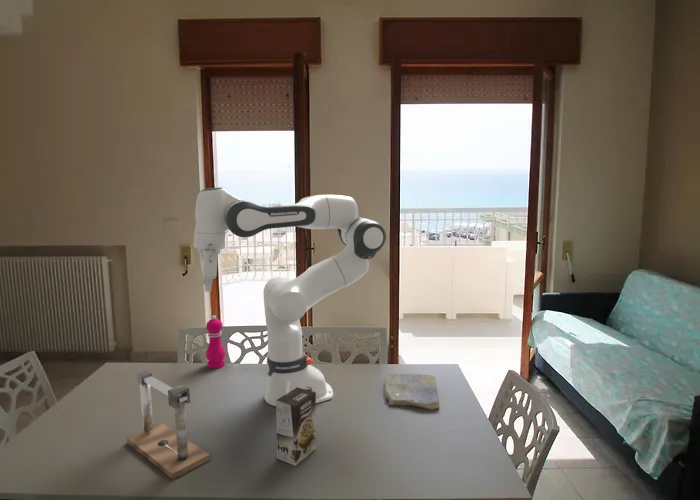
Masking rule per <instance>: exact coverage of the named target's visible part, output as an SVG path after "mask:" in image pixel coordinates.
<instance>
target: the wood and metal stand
mask: <svg viewBox="0 0 700 500" xmlns="http://www.w3.org/2000/svg"><path fill="white" fill-rule="evenodd" d="M172 388H173V389H170V390H168V396H167V398H168V406H170V407H172V408H173V409H174V419H175V430H174V429H172V428H170V427H169V426H167V425H166V424H165V423H163V422H161V423H159V424H157V425H153V430H151V431H150V432H144V431H143V430H142V431H140V432H137V433H135V434H133V435H131V436H127V438H126V441H127V444H128V445H129V446H131V447H132V448H133V449H134V450H136V451H137V452H138V453H139V454H140V455H141V456H143V457H144V458H145V459H147V460H148V461H149V462H151V463H152V464H153V465H154V466H155V467H157V468H158V469H159V470H160V471H161V472H162V473H164V474H165V475H167V476H168V477H169V478H170V479H171V480H175V479H177V478H178V477H181V476H183V475H184V474H186V473H188V472H190V471H192V470H193V469H195V468H197V467H199V466H201V465H203V464H205V463H207V462H209V461H210V460H211V459H210V454H209V453H208V452H206V451H205V450H204V449H202V448H200V446H198V445H196V444H194V443H193V442H192V441H190V440H189V439H188V436H187V432H188V431H187V420H186V418H187V417H186V404H190V403H191V393H190V391H191V390H190V388H189V387H188V386H186V385H184V384H181V385H179V386H177V387H172ZM182 393H183V394H184V395H186V396H187V400H186V401H183V402H181V403H179V402H177V395H179V394H182Z"/></svg>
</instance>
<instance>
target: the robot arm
mask: <svg viewBox="0 0 700 500" xmlns="http://www.w3.org/2000/svg"><path fill="white" fill-rule="evenodd" d="M195 201H196V202H195V213H194V214H195V215H194V218H195V227H194V230H193V231H194V234H193V247H194V248H195V249H197V253H198V254H199V262H200V270H201V275H202V278H203V282H202V283H203V285H204V291H205V293H210V292H212V286H213V280H214V279H217V273H218V255H220V254H221V250H224V249H225V247H226V231H228V230H229V231H230V232H231V233H232V234H234V235H235V236H236V237H240V238H250V237H254V236H255V235H258V234H259V233H261V232H263V231H266V230H272V229H281V228H282V229H284V228H291V227H292V228H293V227H294V228H296V227H297V228H302V229H308V230H329V229H332V230H333V229H337V232H338V236H339V239H340V241H341V242H342V244H344V245H345V248H344V249H343V250H341V252H339V253H337V254H335V255H332V256H330V257H328V258H325V259H324V260H321V261H319V262H318V263H315V264H313V265H311V266H309V267H308V268H307V269H306V270H305V271H304V272H302V273H300V275H299V276H297V277H295V278H294V279H292V280H290V279H289V278H287V277H284V276H283V277H280V276H275V277H272V278H271V279H269V280H268V281H267V282H266V283H265V285H264V288H263V294H262V295H263V306H264V316H265V323H266V326H265V327H266V331H267V357H266V372H267V373H266V374H267V384H266V390H265V394H264V396H263V397H264V400H265V402H266V403H267V404H269V405H271V406H273V407H276V400H277V399H279V398H281V397H282V396H284V395H286V394H287V393H289V392H291V391H292V390H294V389H295V388H297V387H298V388H301V389H306V390H310V391H313V392H316V404H319V403H322V402H325V401H329V400H332V399H333V398H334V390H333V388H332V386H331V385H330V383H328V382H326V379H325V376H324V375H323V373H322V372H321V370H320V369H318V368H316V367H315V366H313V365H312V364H313V362H314V360H313V359H312V358H311V357H309V356H308V354H306V353H305V352H304V351H303V331H302V326H301V321H300V319H301V318H302V317H304V315H305V313H306V312H307V311H308V310H309V309H310V310H311V308H313V307H314V306H315V305H316V304H317V303H319V302H320V301H322V300H323V299H325V298H326V297H328V296H330V295H332V294H335V293H336V292H338V291H340V290H343V289H346V287H348V286H350V285H352V284H353V283H355V282H356V281H358V280H360V279H361V278H363V277H364V276H365V275H366V274H367V273H368V272H369V270H370V262H369V260H371V259H373V258H374V257H375V256H376V255H377V253H378V252H379V251H380V250H382V248H383V247H384V245H385V242H386V240H387V233H386V231H385V229H384V227H383V225H381V224H380V223H379V222H377V221H375V220H371V219H369V218H366V217H365V218H364V217H361V216H360V215H359V209H358V208H359V207H358V204H357V202H356V200H355V199H354V198H353V197H352V196H347V195H341V194H316V195H310V196H306V197H303V198H301V199H300V200H299V201H298V202H297V203H293V204H290V205H289V204H288V205H277V206H262V205H261V206H260V205H259V204H256V203H253V202H251V201H246V200H244V199H242V198H239V197H237V196H235V195H234V194H232V193H231V192H229V191H228V190H227V189H226V188H225V187H221V186H220V187H209V188H208V187H207V188H204V189H201V190H200V192H199V193H198V194H197V197H196V200H195Z"/></svg>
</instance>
